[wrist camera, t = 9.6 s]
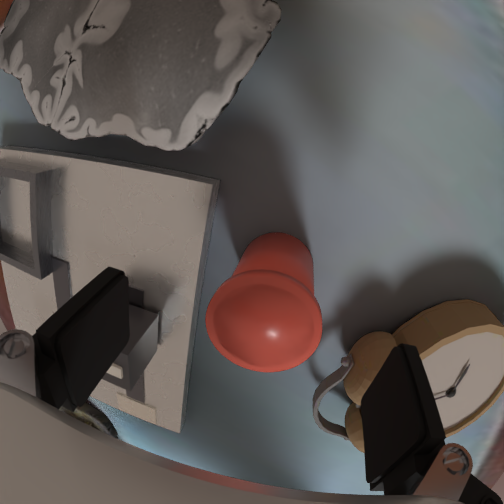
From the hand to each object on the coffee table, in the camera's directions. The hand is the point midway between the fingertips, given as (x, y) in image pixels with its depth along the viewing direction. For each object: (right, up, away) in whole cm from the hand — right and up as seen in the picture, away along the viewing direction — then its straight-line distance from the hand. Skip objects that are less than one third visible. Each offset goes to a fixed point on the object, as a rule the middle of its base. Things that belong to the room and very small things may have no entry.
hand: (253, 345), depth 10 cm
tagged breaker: (-8, -2, +9) cm, 12 cm away
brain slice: (-7, +18, +3) cm, 20 cm away
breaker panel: (-12, 0, +11) cm, 17 cm away
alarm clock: (+12, -5, +9) cm, 16 cm away
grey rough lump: (-21, -17, +20) cm, 33 cm away
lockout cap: (+1, +2, +7) cm, 8 cm away
